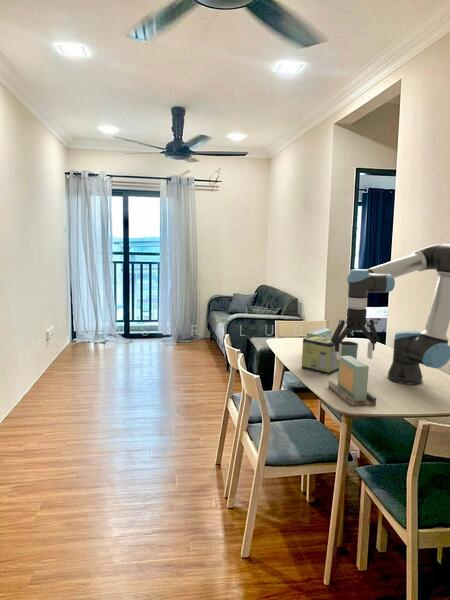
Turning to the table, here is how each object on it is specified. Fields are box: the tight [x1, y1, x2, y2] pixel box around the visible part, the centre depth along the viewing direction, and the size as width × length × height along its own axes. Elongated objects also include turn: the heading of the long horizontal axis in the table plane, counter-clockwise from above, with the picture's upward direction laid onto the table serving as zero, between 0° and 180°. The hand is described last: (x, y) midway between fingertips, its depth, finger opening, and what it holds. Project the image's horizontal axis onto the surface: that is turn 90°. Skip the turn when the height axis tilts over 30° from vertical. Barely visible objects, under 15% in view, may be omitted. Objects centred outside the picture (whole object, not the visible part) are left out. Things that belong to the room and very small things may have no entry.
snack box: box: [306, 327, 333, 339], centre depth 238 cm, size 21×6×15 cm, turn 143°
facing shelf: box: [328, 380, 377, 407], centre depth 179 cm, size 11×22×3 cm, turn 9°
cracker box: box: [337, 356, 370, 401], centre depth 178 cm, size 16×5×14 cm, turn 9°
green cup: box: [340, 340, 359, 360], centre depth 223 cm, size 10×10×12 cm
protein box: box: [301, 336, 339, 376], centre depth 215 cm, size 10×16×16 cm
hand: (354, 358), depth 177 cm, fingers open, 13 cm apart
